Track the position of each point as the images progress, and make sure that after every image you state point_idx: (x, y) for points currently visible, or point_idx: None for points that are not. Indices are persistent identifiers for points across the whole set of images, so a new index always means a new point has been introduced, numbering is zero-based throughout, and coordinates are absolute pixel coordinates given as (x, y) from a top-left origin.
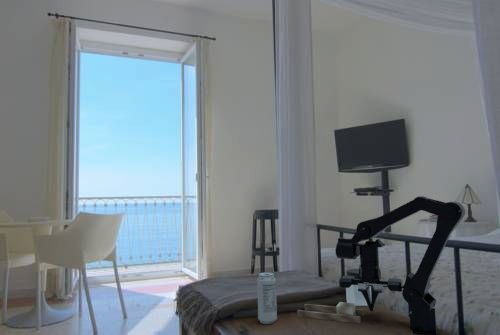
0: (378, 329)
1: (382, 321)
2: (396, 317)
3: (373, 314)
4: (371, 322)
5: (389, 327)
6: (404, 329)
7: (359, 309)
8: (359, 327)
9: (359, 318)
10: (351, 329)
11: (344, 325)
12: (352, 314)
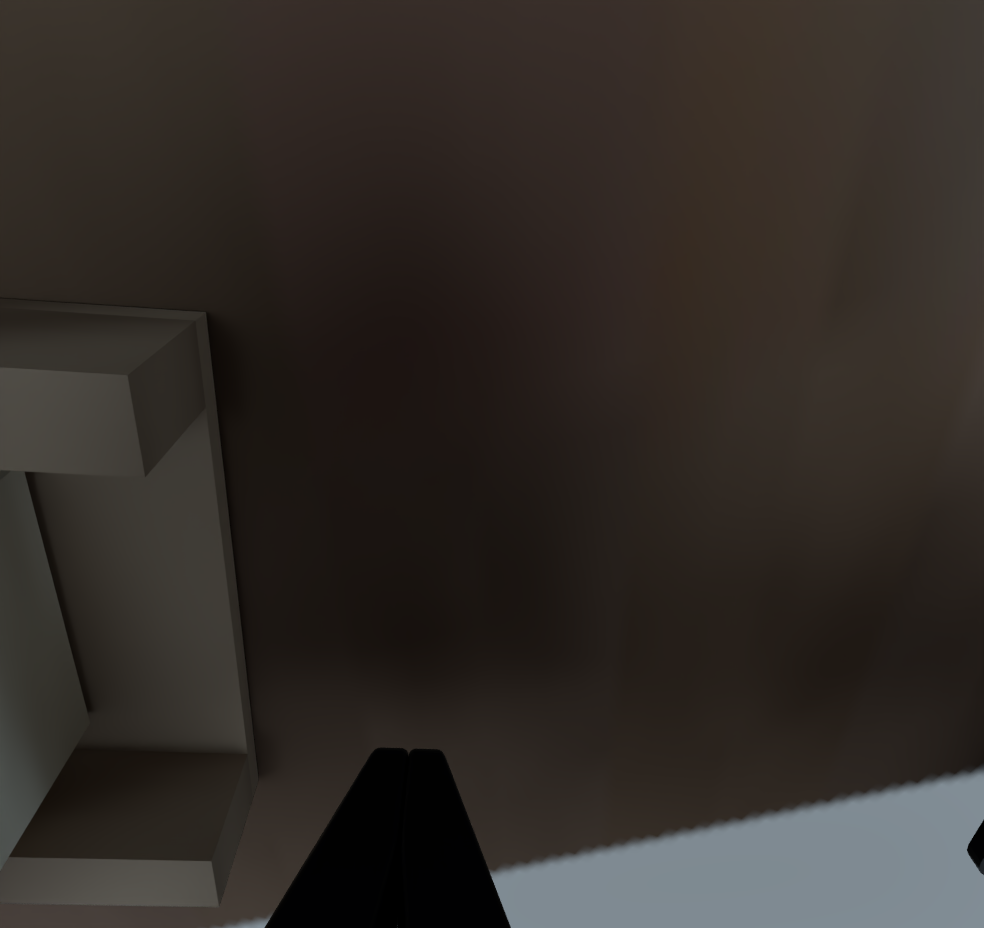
0: (534, 838)
1: (608, 515)
2: (979, 138)
3: (388, 8)
4: (410, 615)
5: (696, 744)
6: (900, 761)
7: (7, 443)
8: (270, 837)
9: (220, 885)
10: (191, 910)
11: None
12: (27, 823)
